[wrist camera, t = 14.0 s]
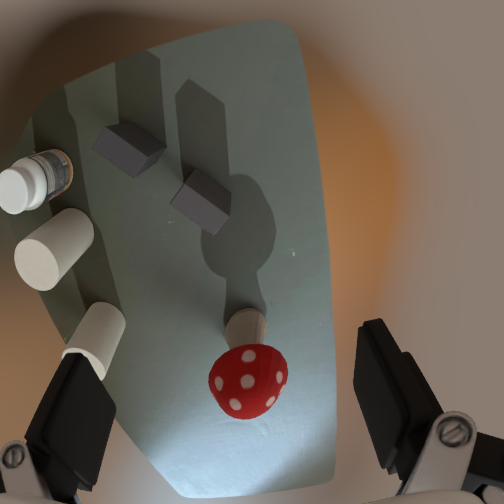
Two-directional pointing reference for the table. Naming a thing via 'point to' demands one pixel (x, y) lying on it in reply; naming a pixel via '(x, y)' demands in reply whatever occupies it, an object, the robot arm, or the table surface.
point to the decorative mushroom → (247, 368)
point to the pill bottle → (34, 180)
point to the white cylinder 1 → (53, 248)
